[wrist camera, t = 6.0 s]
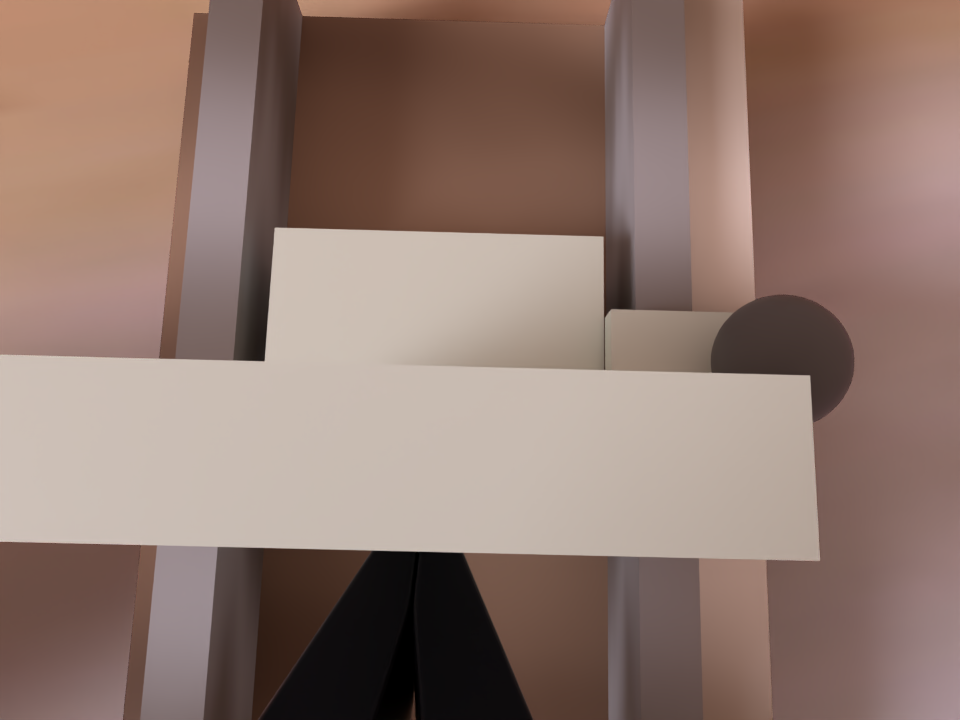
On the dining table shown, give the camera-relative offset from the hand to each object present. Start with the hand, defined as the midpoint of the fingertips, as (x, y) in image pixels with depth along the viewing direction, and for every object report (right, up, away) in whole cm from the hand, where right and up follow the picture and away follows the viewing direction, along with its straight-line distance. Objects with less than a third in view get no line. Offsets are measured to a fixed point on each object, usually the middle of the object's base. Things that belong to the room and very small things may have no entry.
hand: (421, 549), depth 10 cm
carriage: (+2, +2, +6) cm, 7 cm away
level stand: (0, +1, +8) cm, 9 cm away
